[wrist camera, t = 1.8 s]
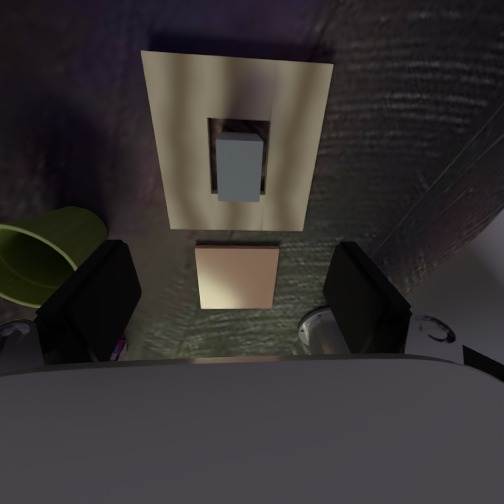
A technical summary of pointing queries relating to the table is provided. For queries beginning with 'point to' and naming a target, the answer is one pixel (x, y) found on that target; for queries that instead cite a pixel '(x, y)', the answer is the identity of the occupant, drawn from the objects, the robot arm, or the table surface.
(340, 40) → the table surface
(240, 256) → the tile
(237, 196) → the block
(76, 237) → the plant pot
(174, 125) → the holder
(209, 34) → the table surface
